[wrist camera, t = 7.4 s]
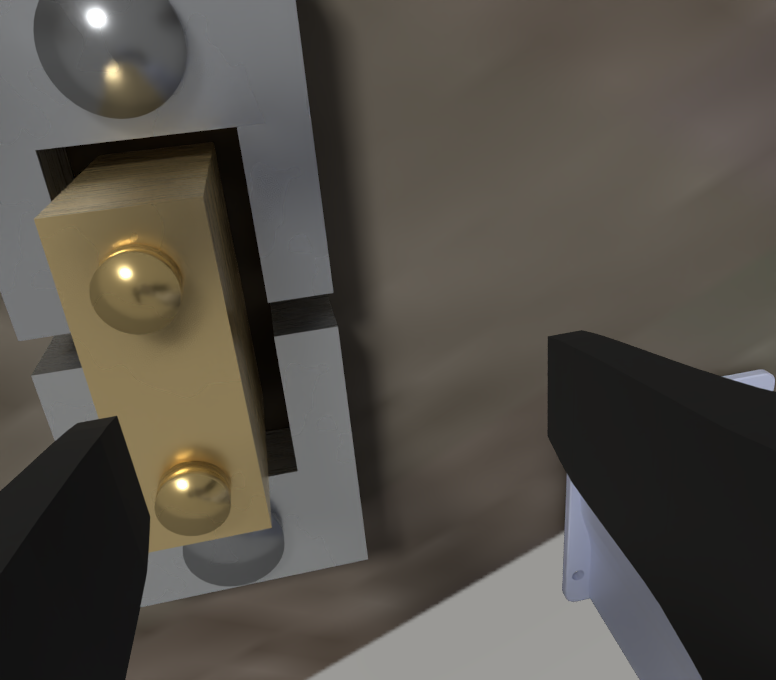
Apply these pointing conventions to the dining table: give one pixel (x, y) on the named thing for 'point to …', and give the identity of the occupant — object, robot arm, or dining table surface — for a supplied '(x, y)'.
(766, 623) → the robot arm
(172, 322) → the gold bar with studs
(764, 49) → the dining table surface
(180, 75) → the grey slotted frame
